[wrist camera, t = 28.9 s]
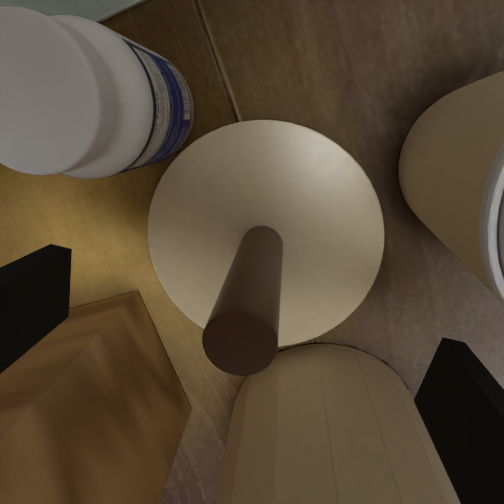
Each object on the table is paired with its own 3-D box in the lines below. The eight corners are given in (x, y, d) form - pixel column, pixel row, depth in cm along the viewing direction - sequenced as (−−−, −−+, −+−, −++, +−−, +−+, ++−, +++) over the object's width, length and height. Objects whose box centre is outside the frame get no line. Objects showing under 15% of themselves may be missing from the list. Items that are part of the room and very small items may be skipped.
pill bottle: (82, 130, 21) (-90, 132, 11) (119, 29, 19) (-50, -68, 9) (170, 181, 21) (76, 224, 12) (215, 88, 19) (145, 51, 10)
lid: (118, 164, 21) (-52, 200, 11) (349, 83, 19) (429, 24, 8) (199, 355, 25) (134, 522, 14) (399, 310, 22) (498, 473, 12)
